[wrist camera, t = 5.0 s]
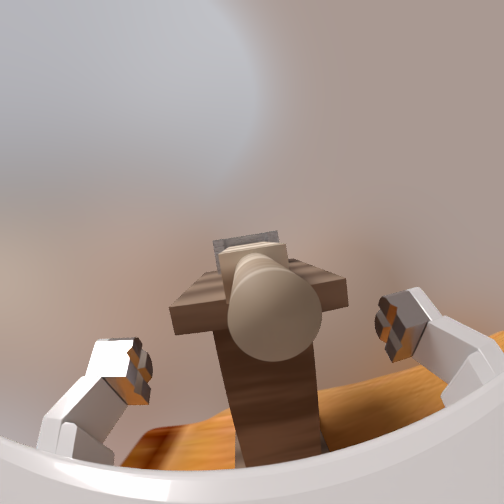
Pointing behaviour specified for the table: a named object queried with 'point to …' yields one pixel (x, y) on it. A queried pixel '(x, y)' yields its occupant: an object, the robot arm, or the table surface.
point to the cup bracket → (242, 243)
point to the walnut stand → (263, 373)
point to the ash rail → (268, 302)
